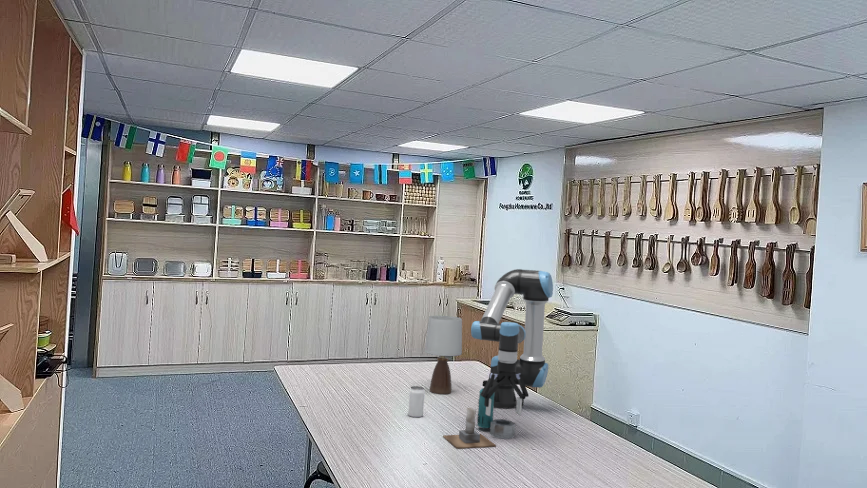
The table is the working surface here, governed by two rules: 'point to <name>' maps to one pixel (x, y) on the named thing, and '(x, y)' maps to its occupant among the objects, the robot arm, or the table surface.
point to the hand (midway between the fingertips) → (503, 414)
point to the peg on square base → (469, 435)
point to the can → (416, 401)
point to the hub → (502, 429)
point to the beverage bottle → (484, 410)
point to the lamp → (443, 349)
